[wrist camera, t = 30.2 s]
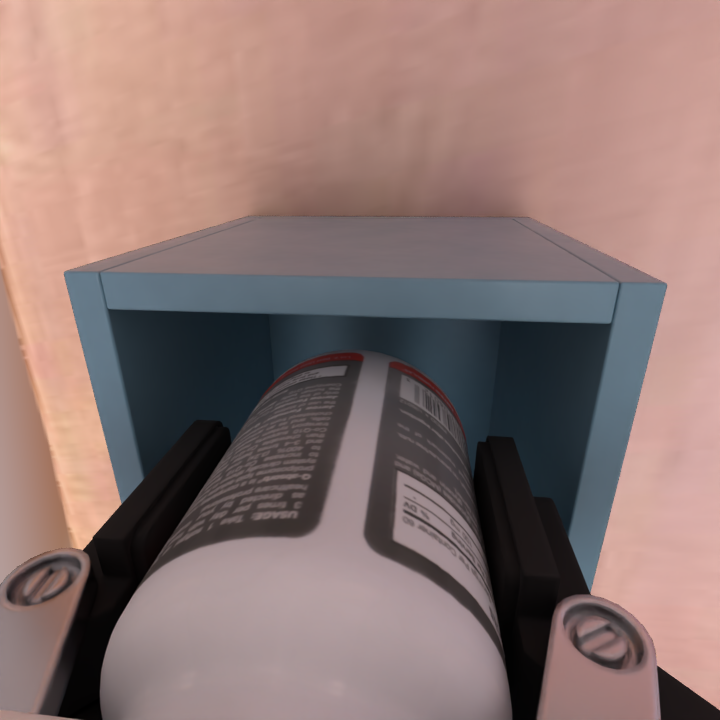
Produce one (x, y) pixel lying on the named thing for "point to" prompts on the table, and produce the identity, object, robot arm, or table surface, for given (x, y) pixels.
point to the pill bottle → (322, 567)
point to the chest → (380, 337)
